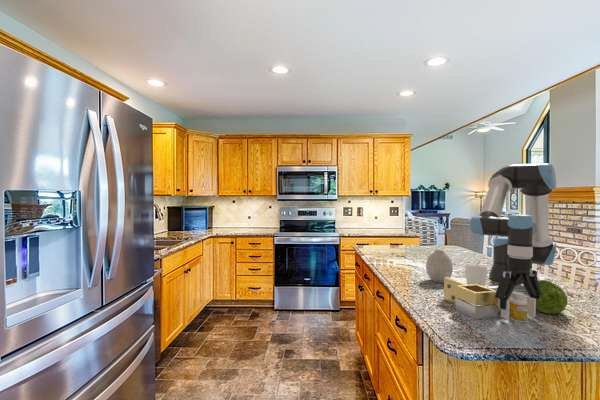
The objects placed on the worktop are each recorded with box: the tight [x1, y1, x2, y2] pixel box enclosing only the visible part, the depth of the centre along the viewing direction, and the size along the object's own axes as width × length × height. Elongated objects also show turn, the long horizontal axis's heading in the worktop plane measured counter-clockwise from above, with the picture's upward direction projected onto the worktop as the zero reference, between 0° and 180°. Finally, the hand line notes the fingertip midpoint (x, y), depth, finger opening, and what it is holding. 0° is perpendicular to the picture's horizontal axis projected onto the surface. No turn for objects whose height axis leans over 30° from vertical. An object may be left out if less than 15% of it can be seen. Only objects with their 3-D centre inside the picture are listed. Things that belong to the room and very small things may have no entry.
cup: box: [464, 263, 488, 287], centre depth 148 cm, size 9×9×12 cm
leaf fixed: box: [454, 285, 516, 320], centre depth 122 cm, size 22×10×10 cm, turn 105°
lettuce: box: [528, 279, 568, 315], centre depth 126 cm, size 12×21×11 cm, turn 151°
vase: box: [425, 248, 454, 284], centre depth 164 cm, size 13×13×17 cm
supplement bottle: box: [509, 291, 528, 323], centre depth 114 cm, size 5×5×10 cm
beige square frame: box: [443, 277, 498, 306], centre depth 126 cm, size 10×22×10 cm, turn 15°
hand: (518, 316), depth 114 cm, fingers open, 11 cm apart
